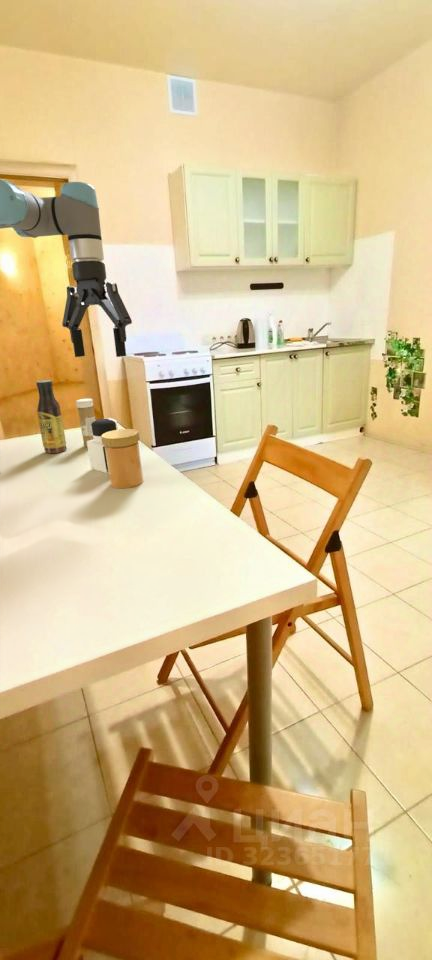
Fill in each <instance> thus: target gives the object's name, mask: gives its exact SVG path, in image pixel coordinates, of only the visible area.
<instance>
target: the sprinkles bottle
mask: <svg viewBox="0 0 432 960" xmlns="http://www.w3.org/2000/svg"><path fill="white" fill-rule="evenodd" d="M75 403H76V407H77V411H78V417H79V423H80V430H81V436H82V440H83V446H84V447H86V448H88V447H87V441H89V440H93V439H94V438H93V432H92V426H91V424H92V422H94V421H95V420H96V414H95V409H94V401H93V398H80V399H77V400H76V401H75Z"/></svg>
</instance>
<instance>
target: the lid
mask: <svg viewBox="0 0 432 960" xmlns="http://www.w3.org/2000/svg"><path fill="white" fill-rule="evenodd" d="M139 441H140V434H139V430H137V429H135V428H133V429H132V428H119V429H118V430H113V431H109V432H106V433H104V434H102V444H103V445H104V446H108V447H120V446H127V445H131V444H134V443H136V442H138V443H139Z"/></svg>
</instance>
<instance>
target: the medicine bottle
mask: <svg viewBox="0 0 432 960" xmlns="http://www.w3.org/2000/svg"><path fill="white" fill-rule="evenodd" d="M91 426H92V432H93V438H94V439H93V440H89V441H87V447H86V448H87V453H88V458H89V465H90V468H91V469H92V470H94V471H98V472H101V473H104V474H107V475H109V471H108V465H107V459H106V452H105V446H104V445H103V444H102V434H104V433H106V432H109V431H113V430H119V427H118V426H119V425H118V421H117V419H115V418H112V417H105V418H97V419H95V421H94V422H92V424H91Z"/></svg>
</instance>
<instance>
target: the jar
mask: <svg viewBox="0 0 432 960" xmlns="http://www.w3.org/2000/svg"><path fill="white" fill-rule="evenodd" d="M105 452H106V459H107V465H108V471H109V473H108V477H109V482H110V486H111V487H112V488H115V489H130V488H135V487H137V486H139V485H141V484H142V483H144V476H143V468H142V459H141V452H140V446H139V441H138V442H136V443H134V444H131V445H127V446H120V447H108V446H105Z"/></svg>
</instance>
